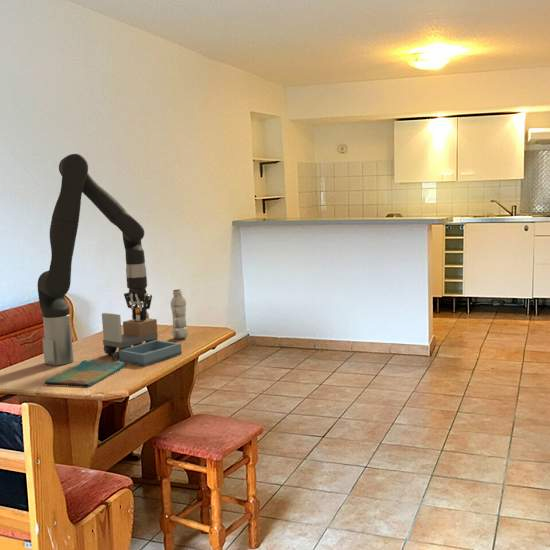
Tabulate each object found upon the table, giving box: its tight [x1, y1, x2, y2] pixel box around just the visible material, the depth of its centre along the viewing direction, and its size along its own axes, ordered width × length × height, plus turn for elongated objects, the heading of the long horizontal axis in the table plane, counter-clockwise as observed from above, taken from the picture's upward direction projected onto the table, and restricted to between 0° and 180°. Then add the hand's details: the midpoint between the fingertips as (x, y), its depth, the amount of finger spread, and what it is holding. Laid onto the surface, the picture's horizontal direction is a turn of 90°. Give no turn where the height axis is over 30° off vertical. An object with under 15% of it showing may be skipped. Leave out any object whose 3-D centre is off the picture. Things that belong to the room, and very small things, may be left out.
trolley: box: [101, 312, 159, 361], centre depth 240 cm, size 21×10×16 cm, turn 143°
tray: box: [118, 339, 182, 367], centre depth 231 cm, size 18×13×4 cm
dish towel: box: [43, 359, 126, 388], centre depth 213 cm, size 17×23×2 cm
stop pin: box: [135, 306, 141, 322], centre depth 245 cm, size 3×3×10 cm
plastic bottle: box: [169, 288, 189, 340], centre depth 259 cm, size 6×7×20 cm
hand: (139, 319), depth 245 cm, fingers open, 3 cm apart
